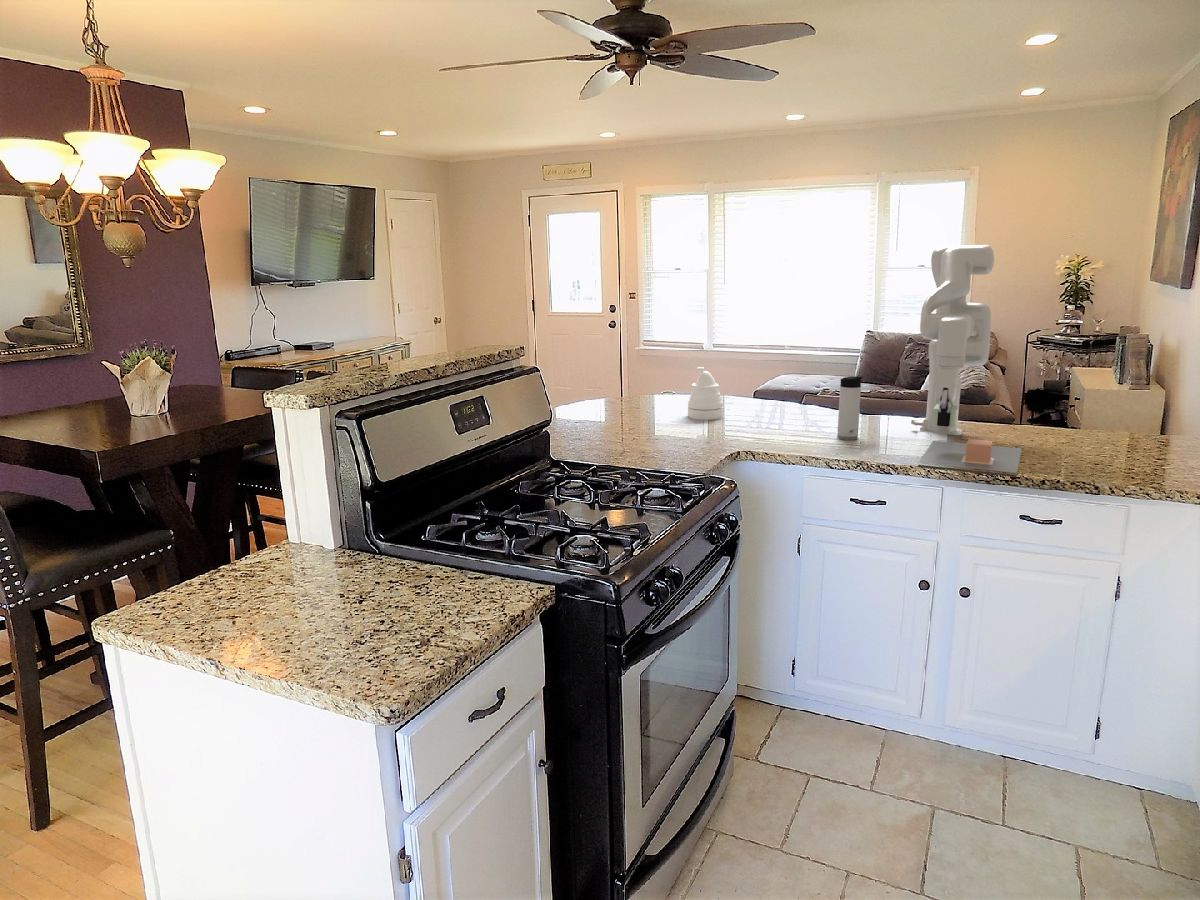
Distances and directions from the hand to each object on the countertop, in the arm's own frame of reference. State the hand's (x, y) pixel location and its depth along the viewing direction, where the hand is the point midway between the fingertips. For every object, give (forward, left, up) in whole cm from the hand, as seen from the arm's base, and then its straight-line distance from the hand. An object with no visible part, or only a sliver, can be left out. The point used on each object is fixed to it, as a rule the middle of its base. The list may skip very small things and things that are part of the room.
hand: (944, 422), depth 227 cm
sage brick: (0, 0, 0) cm, 0 cm away
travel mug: (-29, +9, -9) cm, 32 cm away
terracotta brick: (+10, -9, -8) cm, 16 cm away
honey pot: (-84, +24, -9) cm, 88 cm away
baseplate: (+8, -4, -9) cm, 13 cm away
